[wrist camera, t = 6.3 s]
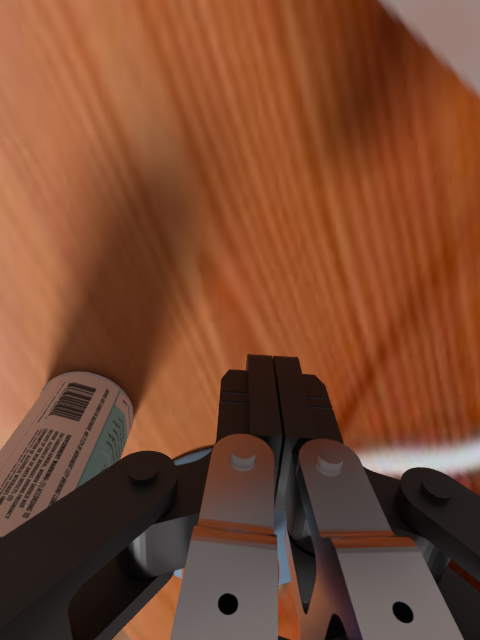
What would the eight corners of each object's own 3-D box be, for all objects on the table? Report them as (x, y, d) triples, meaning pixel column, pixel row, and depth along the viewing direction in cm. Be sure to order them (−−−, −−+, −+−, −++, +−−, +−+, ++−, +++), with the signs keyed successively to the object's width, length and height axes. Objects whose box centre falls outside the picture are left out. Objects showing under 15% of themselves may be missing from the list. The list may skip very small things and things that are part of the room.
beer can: (24, 393, 21) (-205, 681, 10) (93, 349, 20) (-84, 624, 9) (87, 451, 23) (-50, 749, 12) (154, 415, 22) (67, 709, 11)
